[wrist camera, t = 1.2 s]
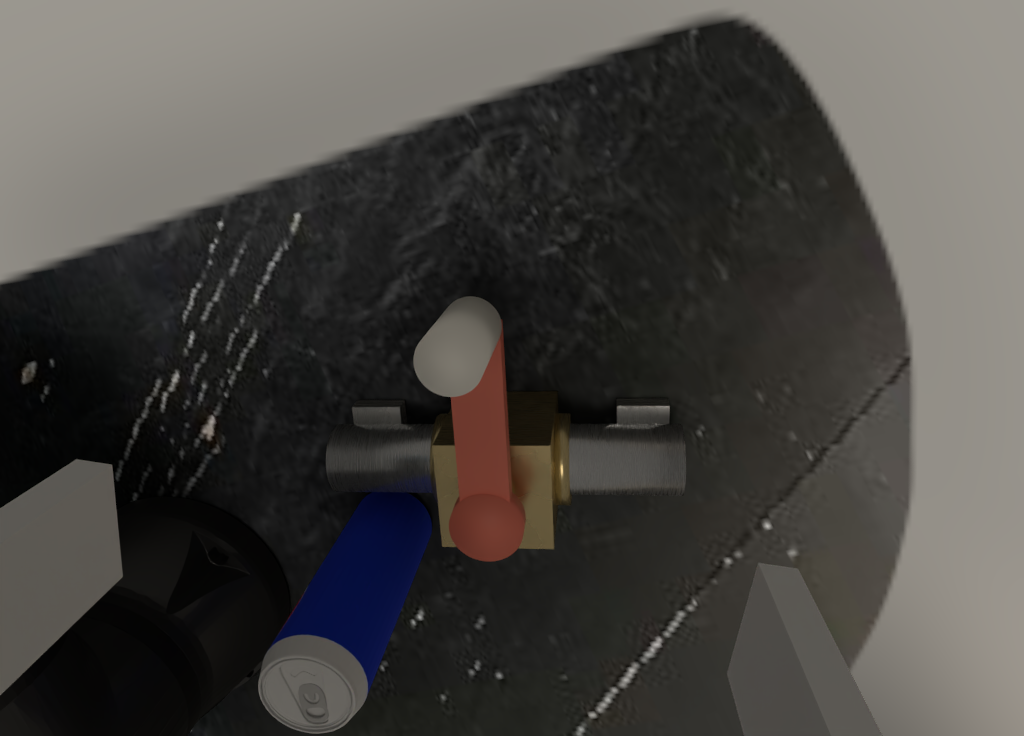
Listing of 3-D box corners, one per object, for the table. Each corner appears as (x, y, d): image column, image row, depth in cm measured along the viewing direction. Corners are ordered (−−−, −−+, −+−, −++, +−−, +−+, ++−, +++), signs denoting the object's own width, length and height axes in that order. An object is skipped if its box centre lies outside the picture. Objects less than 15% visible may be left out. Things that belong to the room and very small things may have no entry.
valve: (361, 478, 44) (308, 558, 36) (349, 392, 42) (290, 456, 34) (673, 480, 42) (694, 567, 33) (676, 390, 40) (698, 458, 31)
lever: (527, 547, 34) (514, 632, 28) (456, 546, 34) (429, 628, 28) (514, 290, 29) (496, 328, 24) (433, 292, 30) (396, 330, 24)
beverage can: (349, 488, 44) (237, 653, 30) (424, 480, 44) (345, 646, 29) (368, 554, 46) (270, 741, 32) (441, 548, 45) (373, 736, 31)
